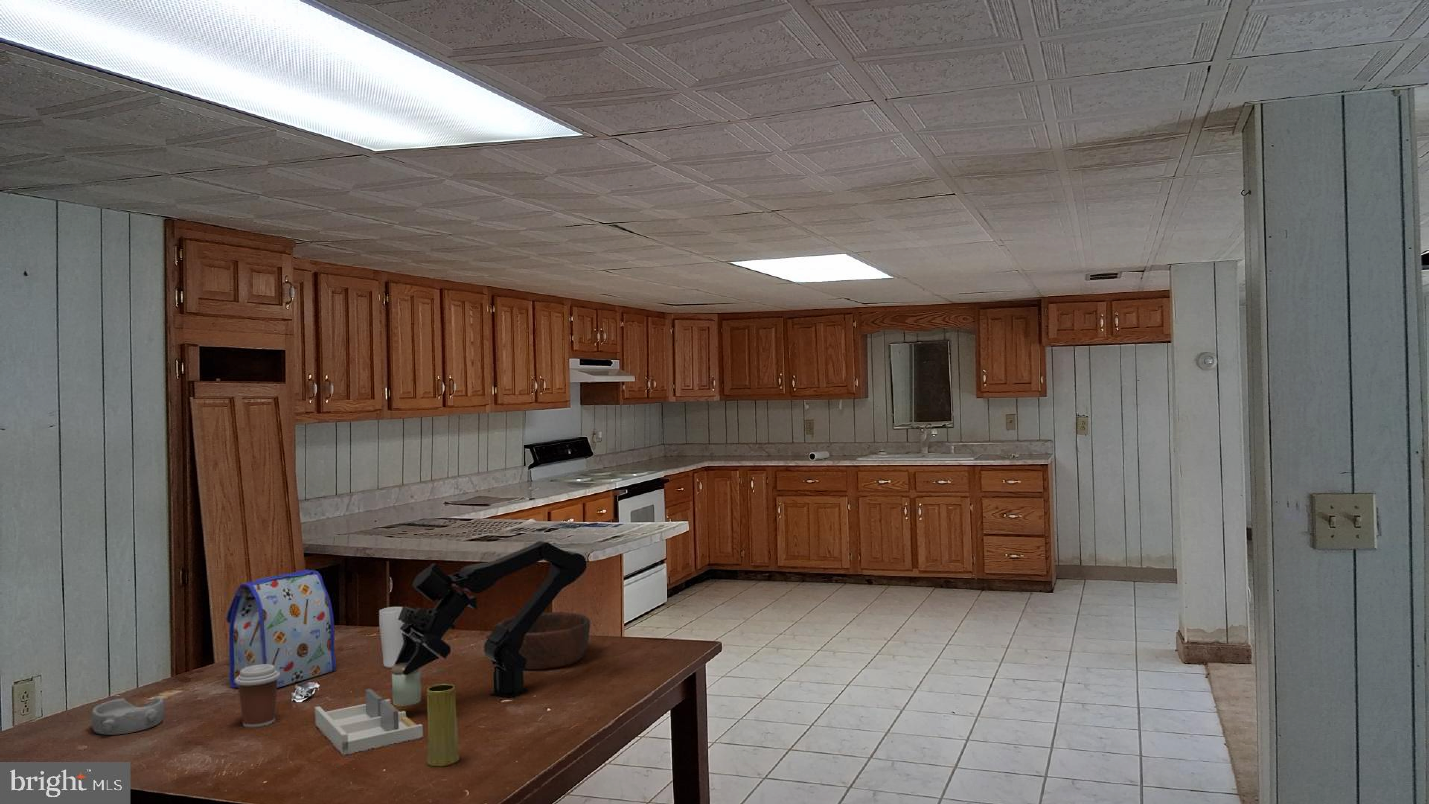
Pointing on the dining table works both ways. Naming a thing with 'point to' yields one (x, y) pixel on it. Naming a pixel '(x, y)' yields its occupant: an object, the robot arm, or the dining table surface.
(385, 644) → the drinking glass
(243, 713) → the coffee cup
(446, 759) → the vase
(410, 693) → the sage jar
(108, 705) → the dish
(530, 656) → the wooden bowl
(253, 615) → the lunch bag
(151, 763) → the dining table surface
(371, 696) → the plate
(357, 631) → the dining table surface
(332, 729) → the white divided tray
